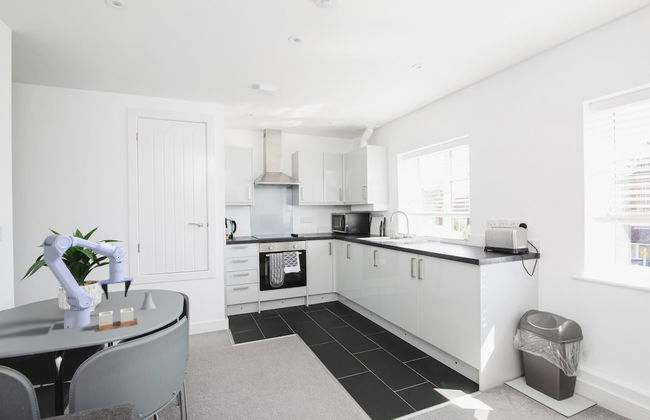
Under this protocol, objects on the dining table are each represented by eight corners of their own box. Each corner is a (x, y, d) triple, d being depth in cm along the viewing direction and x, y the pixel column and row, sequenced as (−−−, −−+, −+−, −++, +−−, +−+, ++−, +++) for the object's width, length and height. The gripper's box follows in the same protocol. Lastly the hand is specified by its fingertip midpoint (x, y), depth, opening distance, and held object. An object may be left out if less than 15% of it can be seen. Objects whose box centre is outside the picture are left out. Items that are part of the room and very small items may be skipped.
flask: (149, 313, 168) (149, 293, 168) (137, 312, 170) (136, 293, 170) (159, 308, 175) (158, 290, 175) (147, 308, 177) (147, 289, 177)
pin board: (94, 335, 140) (94, 322, 140) (95, 328, 148) (95, 316, 148) (137, 327, 148) (137, 315, 148) (136, 321, 157) (136, 309, 157)
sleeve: (120, 325, 147) (120, 312, 147) (120, 322, 151) (120, 309, 151) (133, 323, 149) (133, 310, 149) (133, 320, 154) (133, 307, 154)
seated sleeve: (99, 329, 143) (98, 315, 142) (99, 325, 147) (99, 312, 147) (112, 327, 145) (112, 313, 145) (112, 323, 149) (112, 310, 149)
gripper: (97, 273, 156) (98, 302, 156) (133, 270, 163) (133, 297, 164) (98, 271, 162) (99, 298, 162) (132, 268, 169) (133, 294, 170)
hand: (116, 297), depth 163 cm, fingers open, 7 cm apart
